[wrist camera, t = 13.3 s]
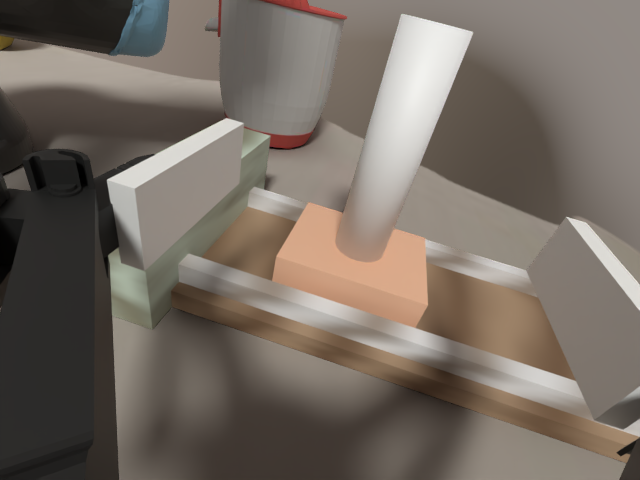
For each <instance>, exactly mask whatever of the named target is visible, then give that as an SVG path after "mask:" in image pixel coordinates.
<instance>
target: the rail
mask: <svg viewBox="0 0 640 480" xmlns="http://www.w3.org/2000/svg"><path fill="white" fill-rule="evenodd" d="M219 122H220V121H219ZM217 123H218V122H217ZM215 124H216V123H215ZM213 125H214V124H213ZM211 126H212V125H211ZM209 127H210V126H209ZM202 131H203V130H202ZM200 132H201V131H200ZM198 133H199V132H198ZM196 134H197V133H196ZM194 135H195V134H194ZM192 136H193V135H192ZM190 137H191V136H190ZM270 137H271V136H270V135H266V134H263V133H260V132H256V131H253V130H249V129H246V128H244V130H243V143H242V156H241V168H240V181H239V184H238V185H237V186H236V187H235V188H234V189H233V190H232V191H230V192H229V193H228V194H227V195H226V196H225V197H224V198H223V199H222V200H221V201H220V202H219V203H217V204H216V205H215V206H214V207H213V208H212V209H211V210H210V211H209V212H208V213H207V214H206V215H205V216H203V217H202V218H201V219H200V220H199V221H198V222H197V223H196V224H195V225H194V226H193V227H192V228H191V229H189V230H188V231H187V232H186V233H185V234H184V235H183V236H182V237H181V238H180V239H179V240H178V241H177V242H175V243H174V244H173V245H172V246H171V247H170V248H169V249H168V250H167V251H166V252H165V253H164V254H162V255H161V256H160V257H159V258H158V259H157V260H156V261H155V262H154V263H153V264H152V265H151V266H150V267H148V268H147V269H146V270H145V271H143V270H140V269H137V268H134V267H131V266H128V265H125V264H122V263H121V260H120V255H119V249H118V248H117V249H116V250H114V251H113V252H112V253H111V254H109V255H108V257H109V262H110V278H111V302H112V316H115V317H118V318H121V319H124V320H127V321H129V322H132V323H135V324H138V325H141V326H144V327H147V328H149V329H152V330H153V328H154V327H155V326H156V325H157V324H158V323H159V321H160V320H161V319H162V318H163V317H164V316H165V314H166V313H167V312H168V311H169V310H170V309H171V307H174V308H177V309H180V310H182V311H185V312H188V313H191V314H194V315H197V316H200V317H203V318H206V319H209V320H212V321H214V322H217V323H220V324H223V325H226V326H229V327H232V328H235V329H238V330H241V331H244V332H246V333H249V334H252V335H255V336H258V337H261V338H264V339H267V340H270V341H273V342H276V343H278V344H281V345H284V346H287V347H290V348H293V349H296V350H299V351H302V352H305V353H308V354H310V355H313V356H316V357H319V358H322V359H325V360H328V361H331V362H334V363H337V364H340V365H342V366H345V367H348V368H351V369H354V370H357V371H360V372H363V373H366V374H369V375H372V376H374V377H377V378H380V379H383V380H386V381H389V382H392V383H395V384H398V385H401V386H404V387H406V388H409V389H412V390H415V391H418V392H421V393H424V394H427V395H430V396H433V397H436V398H438V399H441V400H444V401H447V402H450V403H453V404H456V405H459V406H462V407H465V408H468V409H470V410H473V411H476V412H479V413H482V414H485V415H488V416H491V417H494V418H497V419H500V420H502V421H505V422H508V423H511V424H514V425H517V426H520V427H523V428H526V429H529V430H532V431H534V432H537V433H540V434H543V435H546V436H549V437H552V438H555V439H558V440H561V441H564V442H566V443H569V444H572V445H575V446H578V447H581V448H584V449H587V450H590V451H593V452H596V453H598V454H601V455H604V456H607V457H610V458H613V459H616V460H619V461H622V462H625V463H627V461H628V459H629V457H630V454H624V455H623V456H620V455H618V454H617V453H616V452H618V451H619V450H620V449H622V448H623V447H625V446H627V445H628V444H630V443H631V442H633V441H635V440H636V439H638V438H639V437H640V419H639V420H637V421H636V422H634V423H633V424H631V425H630V426H628V427H627V428H625V429H624V430H622V429H619V428H616V427H613V426H610V425H607V424H604V423H601V422H598V421H595V420H594V419H593V417H592V415H591V413H590V410H589V408H588V406H587V404H586V402H585V399H584V397H583V395H582V393H581V391H580V388H579V386H578V384H577V382H576V379H575V377H574V375H573V373H572V371H571V368H570V366H569V364H568V362H567V360H566V357H565V355H564V353H563V351H562V349H561V346H560V344H559V342H558V340H557V338H556V335H555V333H554V331H553V329H552V326H551V324H550V322H549V320H548V318H547V315H546V313H545V311H544V309H543V307H542V304H541V302H540V300H539V298H538V296H537V293H536V291H535V289H534V287H533V285H532V282H531V280H530V278H529V276H528V273H527V271H526V270H523V269H520V268H516V267H513V266H510V265H507V264H503V263H500V262H497V261H494V260H490V259H487V258H484V257H481V256H478V255H474V254H471V253H468V252H465V251H461V250H458V249H455V248H452V247H448V246H445V245H442V244H439V243H435V242H432V241H429V240H426V239H425V247H426V270H427V294H428V306H427V308H426V310H425V312H424V313H423V315H422V317H421V319H420V321H419V322H418V324H417V326H416V328H413V327H410V326H407V325H404V324H401V323H398V322H395V321H392V320H389V319H386V318H383V317H380V316H377V315H374V314H371V313H368V312H365V311H362V310H359V309H356V308H353V307H350V306H347V305H343V304H340V303H337V302H334V301H331V300H328V299H325V298H322V297H319V296H316V295H313V294H310V293H307V292H304V291H301V290H298V289H295V288H292V287H289V286H286V285H283V284H280V283H277V282H274V281H272V278H273V272H274V267H275V261H276V256H277V254H278V253H279V251H280V249H281V248H282V246H283V244H284V243H285V241H286V239H287V238H288V236H289V234H290V232H291V231H292V229H293V227H294V226H295V224H296V222H297V221H298V219H299V217H300V216H301V214H302V212H303V211H304V209H305V207H306V206H307V204H308V203H306V202H302V201H299V200H296V199H293V198H289V197H286V196H283V195H280V194H276V193H273V192H270V191H267V190H264V185H265V177H266V169H267V161H268V153H269V145H270ZM188 138H189V137H188ZM186 139H187V138H186ZM184 140H185V139H184ZM182 141H183V140H182ZM180 142H181V141H180ZM178 143H179V142H178ZM176 144H177V143H176ZM174 145H175V144H174ZM172 146H173V145H172ZM170 147H171V146H170ZM170 147H168V148H170ZM168 148H166V149H168ZM166 149H164V150H166ZM164 150H162V151H164ZM162 151H160V152H162ZM160 152H158V153H160ZM158 153H156V154H158ZM156 154H155V155H156Z"/></svg>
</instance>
